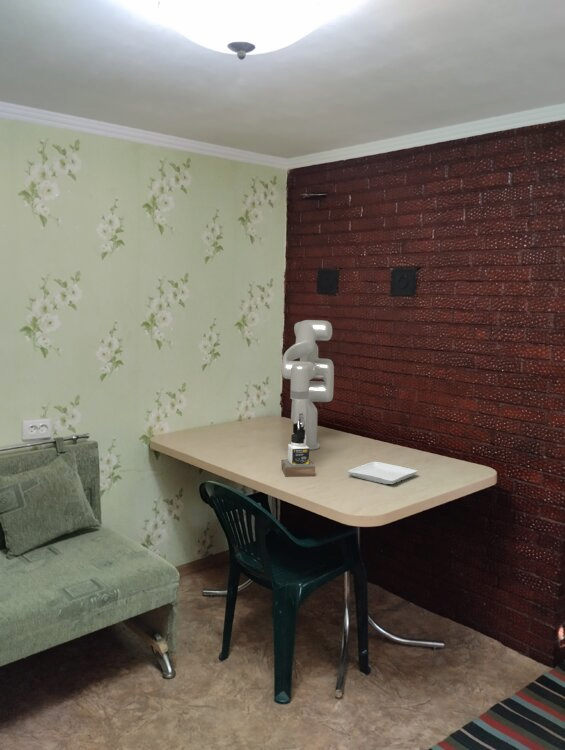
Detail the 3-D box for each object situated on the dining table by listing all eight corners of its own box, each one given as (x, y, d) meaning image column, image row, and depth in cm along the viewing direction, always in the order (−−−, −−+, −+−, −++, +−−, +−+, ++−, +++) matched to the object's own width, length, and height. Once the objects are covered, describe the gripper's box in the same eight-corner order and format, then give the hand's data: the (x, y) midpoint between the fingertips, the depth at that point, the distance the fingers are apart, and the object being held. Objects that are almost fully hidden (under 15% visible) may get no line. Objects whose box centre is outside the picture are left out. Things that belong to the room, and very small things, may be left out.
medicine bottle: (292, 465, 257) (292, 436, 255) (287, 460, 264) (288, 432, 262) (309, 464, 258) (309, 435, 257) (304, 460, 265) (304, 431, 264)
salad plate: (373, 467, 272) (373, 460, 271) (418, 477, 259) (419, 469, 258) (345, 478, 256) (345, 470, 255) (392, 489, 242) (392, 480, 242)
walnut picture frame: (281, 468, 266) (281, 459, 266) (309, 468, 268) (309, 458, 268) (285, 476, 255) (285, 467, 254) (315, 476, 256) (315, 466, 256)
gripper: (287, 391, 265) (286, 431, 268) (293, 399, 248) (292, 441, 251) (305, 390, 266) (304, 430, 269) (312, 398, 249) (311, 441, 252)
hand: (298, 436), depth 260 cm, fingers open, 9 cm apart
